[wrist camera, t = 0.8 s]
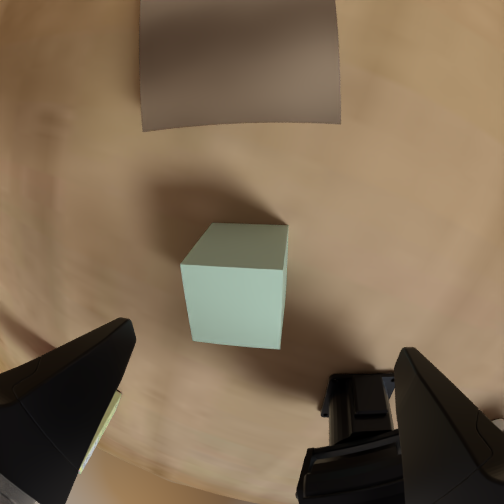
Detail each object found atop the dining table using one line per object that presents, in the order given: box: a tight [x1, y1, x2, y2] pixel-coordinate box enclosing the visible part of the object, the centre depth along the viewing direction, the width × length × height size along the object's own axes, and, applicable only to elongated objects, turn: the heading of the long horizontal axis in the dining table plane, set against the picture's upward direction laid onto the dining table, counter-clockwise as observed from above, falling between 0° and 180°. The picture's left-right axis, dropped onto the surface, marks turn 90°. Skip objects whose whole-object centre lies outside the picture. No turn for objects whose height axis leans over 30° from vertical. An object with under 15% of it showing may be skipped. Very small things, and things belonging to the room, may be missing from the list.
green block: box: [180, 223, 288, 349], centre depth 18 cm, size 5×5×6 cm
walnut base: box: [139, 0, 341, 132], centre depth 13 cm, size 10×10×4 cm
